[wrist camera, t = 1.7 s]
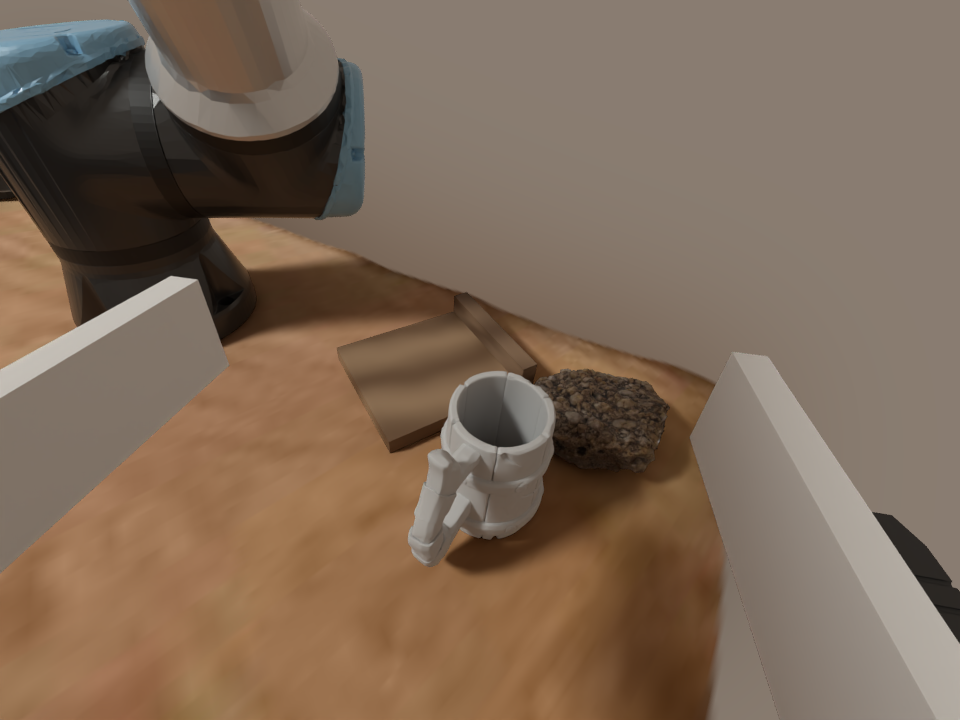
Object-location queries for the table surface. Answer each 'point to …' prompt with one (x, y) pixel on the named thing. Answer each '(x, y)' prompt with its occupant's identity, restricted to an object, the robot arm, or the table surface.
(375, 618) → the table surface
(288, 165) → the robot arm
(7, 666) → the table surface
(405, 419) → the rest board
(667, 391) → the table surface
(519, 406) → the mug
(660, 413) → the concrete sample
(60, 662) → the table surface
